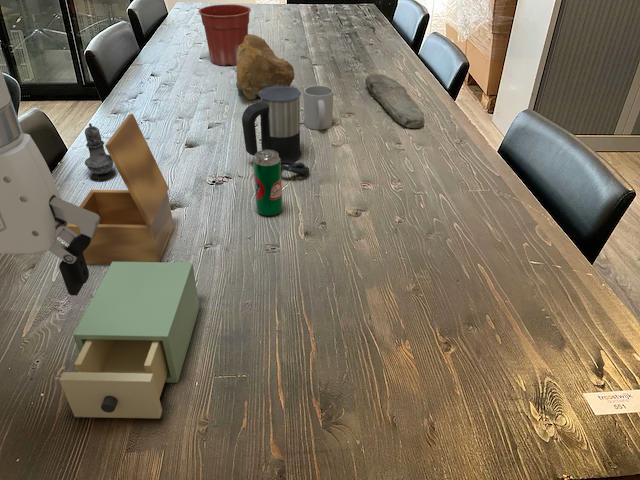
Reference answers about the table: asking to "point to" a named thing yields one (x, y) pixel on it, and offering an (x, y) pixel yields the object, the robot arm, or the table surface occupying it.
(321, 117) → the cup
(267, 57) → the jagged brown rock
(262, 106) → the milk frother
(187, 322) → the cabinet
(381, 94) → the elongated rock
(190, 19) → the table surface
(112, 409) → the drawer
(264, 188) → the soda can
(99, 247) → the chest
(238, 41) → the flower pot
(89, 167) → the grey chess piece
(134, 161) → the lid
